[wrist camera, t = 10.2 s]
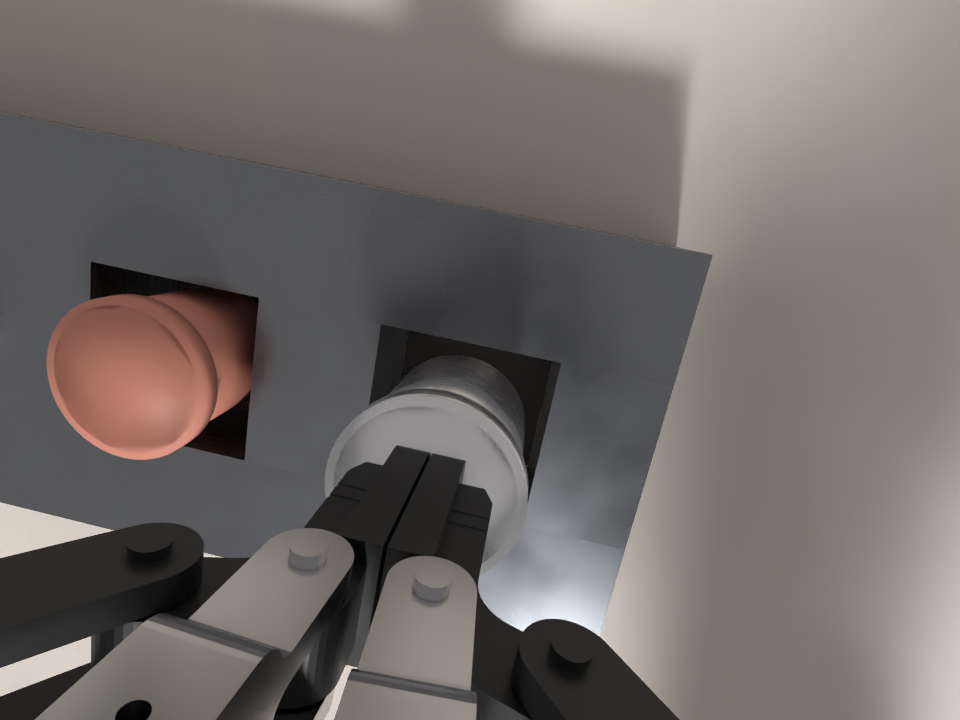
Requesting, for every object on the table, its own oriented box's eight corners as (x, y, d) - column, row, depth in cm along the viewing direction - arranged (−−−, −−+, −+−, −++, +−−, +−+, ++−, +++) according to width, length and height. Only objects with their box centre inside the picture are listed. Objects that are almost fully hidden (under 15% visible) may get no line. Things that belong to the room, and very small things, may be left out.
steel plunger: (547, 366, 16) (547, 423, 11) (515, 506, 17) (503, 605, 12) (394, 333, 16) (338, 376, 12) (372, 472, 17) (313, 559, 13)
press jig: (-128, 85, 20) (-293, 54, 16) (676, 247, 18) (712, 255, 14) (-101, 406, 23) (-233, 444, 19) (586, 569, 21) (595, 648, 17)
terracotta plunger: (290, 293, 18) (210, 317, 14) (277, 418, 19) (199, 476, 15) (162, 266, 19) (45, 281, 14) (156, 390, 20) (47, 439, 15)
